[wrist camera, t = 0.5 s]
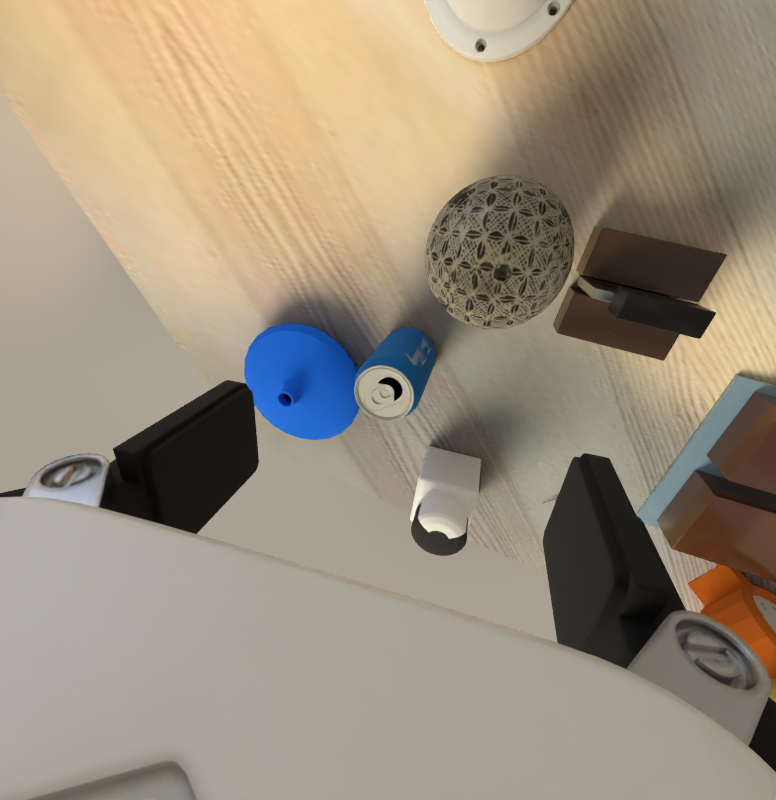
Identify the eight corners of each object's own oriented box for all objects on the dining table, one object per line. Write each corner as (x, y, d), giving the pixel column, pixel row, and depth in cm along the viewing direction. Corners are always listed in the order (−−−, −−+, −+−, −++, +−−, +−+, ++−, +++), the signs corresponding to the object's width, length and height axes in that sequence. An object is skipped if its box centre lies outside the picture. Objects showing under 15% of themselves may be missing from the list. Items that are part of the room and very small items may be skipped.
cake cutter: (582, 269, 36) (608, 287, 28) (679, 292, 35) (739, 318, 27) (573, 290, 37) (596, 313, 29) (667, 313, 36) (722, 344, 27)
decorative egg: (515, 150, 34) (528, 111, 21) (583, 259, 36) (633, 285, 23) (414, 240, 39) (374, 253, 26) (479, 329, 41) (471, 383, 28)
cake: (736, 374, 37) (768, 395, 33) (920, 421, 35) (980, 451, 31) (633, 517, 47) (647, 548, 42) (773, 561, 44) (803, 599, 40)
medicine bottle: (469, 499, 52) (463, 571, 41) (419, 485, 53) (400, 552, 42) (482, 457, 48) (478, 525, 38) (428, 444, 49) (410, 505, 39)
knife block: (594, 226, 35) (602, 227, 32) (709, 251, 33) (727, 254, 31) (552, 325, 39) (556, 333, 37) (652, 350, 38) (664, 360, 35)
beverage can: (448, 356, 44) (433, 401, 33) (407, 387, 47) (382, 437, 36) (411, 314, 42) (384, 346, 32) (372, 348, 46) (336, 388, 35)
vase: (241, 324, 49) (205, 339, 43) (354, 310, 44) (331, 326, 38) (276, 429, 55) (248, 456, 49) (377, 427, 50) (361, 457, 44)
